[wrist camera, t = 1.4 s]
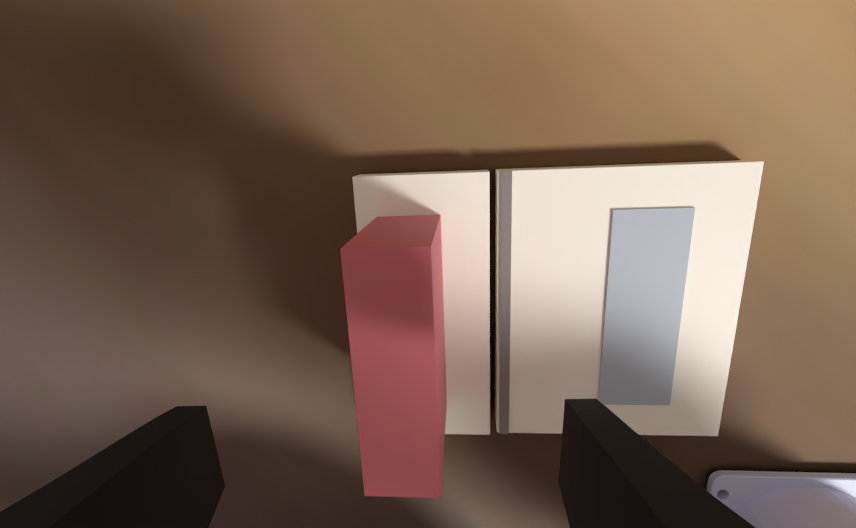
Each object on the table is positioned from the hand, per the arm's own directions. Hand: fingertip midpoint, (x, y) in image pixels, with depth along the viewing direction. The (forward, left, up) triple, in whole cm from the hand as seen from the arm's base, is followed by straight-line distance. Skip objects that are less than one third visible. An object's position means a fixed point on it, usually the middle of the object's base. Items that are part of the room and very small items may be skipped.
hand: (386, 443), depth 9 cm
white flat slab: (-1, -7, -10) cm, 12 cm away
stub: (-1, 0, -10) cm, 10 cm away
